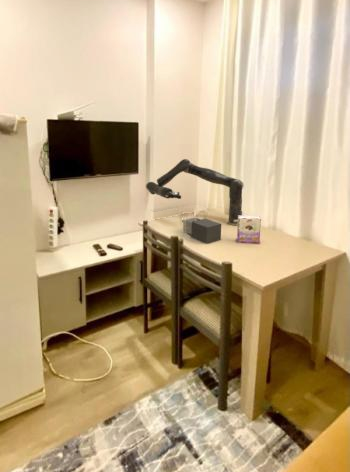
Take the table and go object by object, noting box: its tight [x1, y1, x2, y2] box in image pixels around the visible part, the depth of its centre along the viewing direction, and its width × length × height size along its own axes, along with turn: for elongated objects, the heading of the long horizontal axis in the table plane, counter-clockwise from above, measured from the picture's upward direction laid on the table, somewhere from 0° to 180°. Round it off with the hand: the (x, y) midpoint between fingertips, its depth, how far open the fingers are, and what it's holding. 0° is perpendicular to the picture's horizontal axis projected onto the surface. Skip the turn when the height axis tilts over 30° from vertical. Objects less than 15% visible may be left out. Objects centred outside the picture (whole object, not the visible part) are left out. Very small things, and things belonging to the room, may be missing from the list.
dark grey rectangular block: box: [190, 217, 222, 245], centre depth 210 cm, size 15×13×11 cm
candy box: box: [236, 215, 262, 244], centre depth 205 cm, size 14×6×16 cm, turn 84°
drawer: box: [181, 216, 202, 235], centre depth 219 cm, size 18×11×9 cm, turn 39°
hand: (180, 197), depth 226 cm, fingers closed
